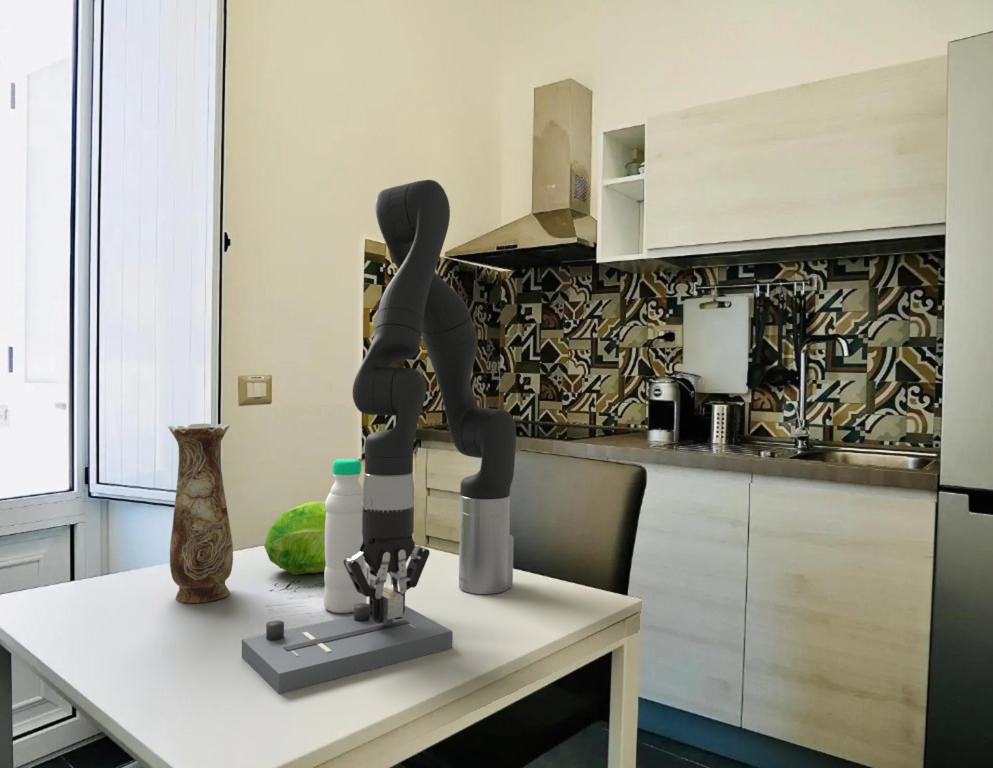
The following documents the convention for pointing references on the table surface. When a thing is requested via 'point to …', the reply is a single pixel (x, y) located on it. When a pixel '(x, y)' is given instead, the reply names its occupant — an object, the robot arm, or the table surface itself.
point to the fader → (391, 606)
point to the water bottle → (343, 536)
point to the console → (340, 647)
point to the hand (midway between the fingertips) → (386, 619)
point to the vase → (200, 517)
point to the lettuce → (299, 539)
